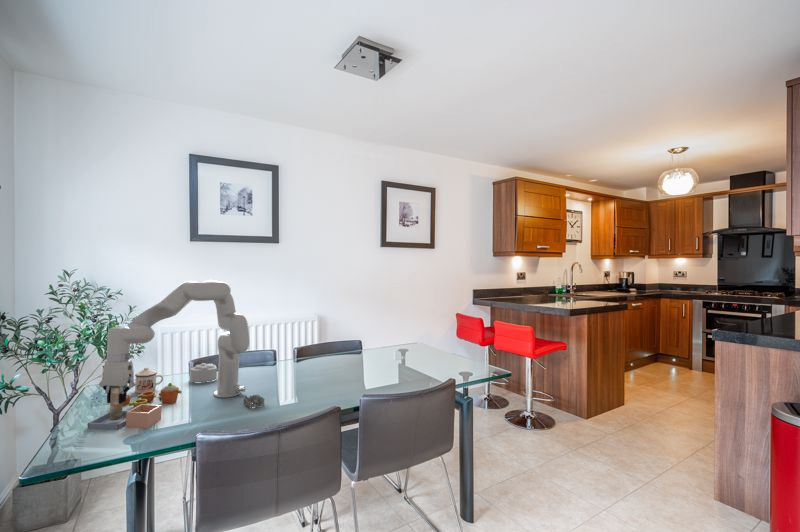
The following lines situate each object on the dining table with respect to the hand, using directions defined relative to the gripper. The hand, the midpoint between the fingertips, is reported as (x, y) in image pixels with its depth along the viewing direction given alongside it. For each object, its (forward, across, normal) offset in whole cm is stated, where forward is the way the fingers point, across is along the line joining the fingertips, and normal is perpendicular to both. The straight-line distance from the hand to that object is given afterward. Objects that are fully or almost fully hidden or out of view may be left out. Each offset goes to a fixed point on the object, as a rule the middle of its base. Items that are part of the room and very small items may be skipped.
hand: (116, 401), depth 152 cm
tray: (+9, 0, 0) cm, 9 cm away
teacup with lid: (+9, +12, -39) cm, 42 cm away
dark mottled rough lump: (+10, -46, -27) cm, 54 cm away
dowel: (+7, 0, 0) cm, 7 cm away
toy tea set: (+10, +1, -22) cm, 24 cm away
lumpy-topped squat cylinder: (+10, -6, -58) cm, 59 cm away
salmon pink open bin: (+9, -12, 0) cm, 15 cm away
